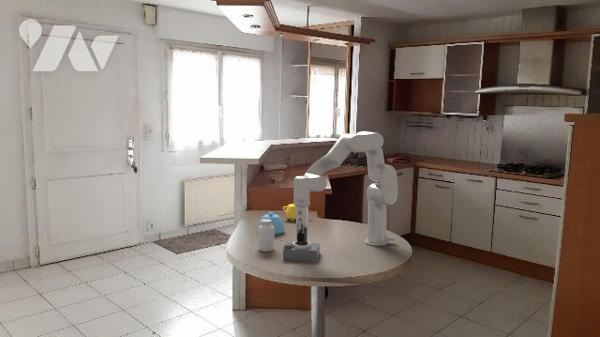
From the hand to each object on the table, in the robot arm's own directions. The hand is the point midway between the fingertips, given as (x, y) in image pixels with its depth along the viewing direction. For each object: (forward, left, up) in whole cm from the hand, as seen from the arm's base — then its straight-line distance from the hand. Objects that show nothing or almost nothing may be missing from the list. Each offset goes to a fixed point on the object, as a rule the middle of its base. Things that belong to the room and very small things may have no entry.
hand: (301, 239), depth 222 cm
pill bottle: (+19, -8, -9) cm, 22 cm away
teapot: (+13, -71, -9) cm, 73 cm away
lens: (0, 0, -3) cm, 3 cm away
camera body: (0, 0, -9) cm, 9 cm away
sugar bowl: (+23, -39, -9) cm, 46 cm away
